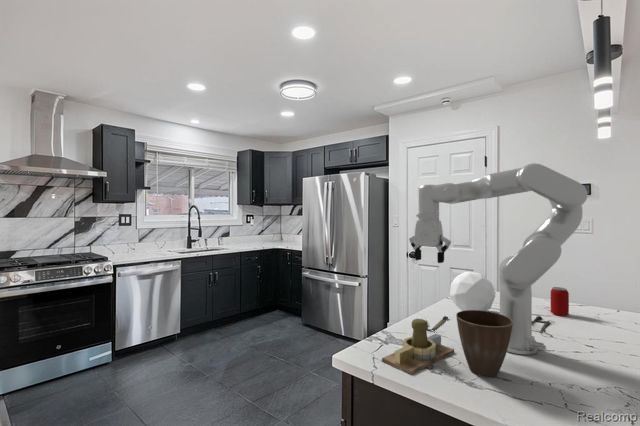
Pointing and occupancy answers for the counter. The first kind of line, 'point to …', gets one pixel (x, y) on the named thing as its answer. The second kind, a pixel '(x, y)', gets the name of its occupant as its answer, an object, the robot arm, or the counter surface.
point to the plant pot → (484, 340)
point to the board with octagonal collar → (417, 365)
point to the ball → (472, 292)
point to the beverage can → (559, 301)
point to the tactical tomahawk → (438, 324)
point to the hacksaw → (543, 325)
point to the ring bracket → (417, 350)
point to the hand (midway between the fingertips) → (429, 261)
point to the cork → (419, 333)
